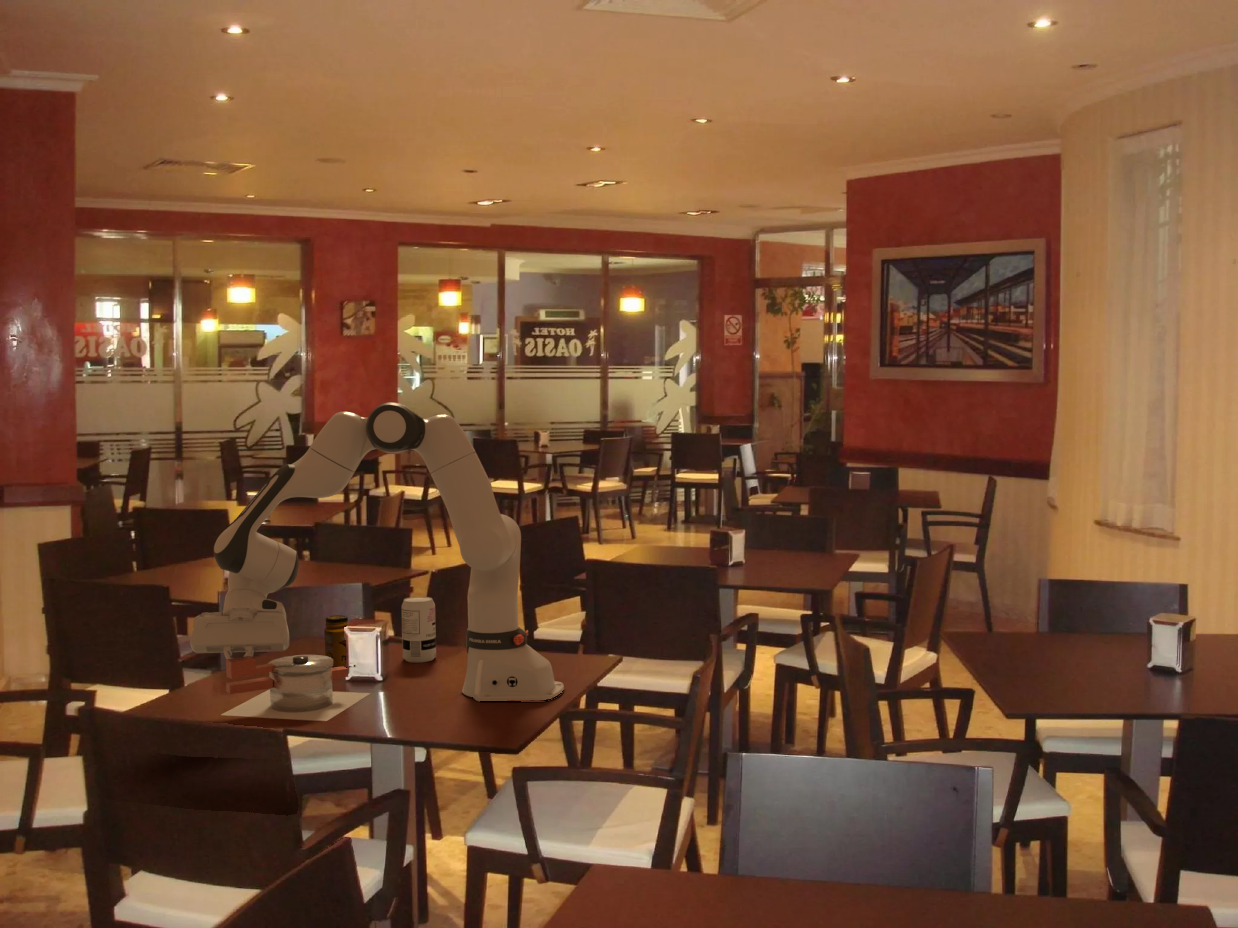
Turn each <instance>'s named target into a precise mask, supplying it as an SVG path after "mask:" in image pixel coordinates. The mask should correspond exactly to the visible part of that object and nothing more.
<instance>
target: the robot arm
mask: <svg viewBox="0 0 1238 928" xmlns="http://www.w3.org/2000/svg"><path fill="white" fill-rule="evenodd" d="M374 450H376V451H379V452H380V451H381V452H383V453H387V454H389V455H398V454H399V455H400V454H404V453H406V452H408V451H410V450H412V451H414V452H415V453H418V454H419V456H420V457H421V458H422V460H423V462H424V463H425V466H426V468H427V469H428V472H429V474H430V476H431V479H432V480H433V483H434V485H435V487H436V488H437V490H438V492H439V495H440V497H441V499H442V501H443V504H444V505H445V507H446V508H445V509H446V510H447V514H448V516H449V520H450V523H451V526H452V529H453V533H454V534H455V537H456V541H457V543H458V547H459V551H460V556H461V558H462V559H463V561H464V562H465V564H466V565H467V566H469V567H470V575H469V584H468V590H467V621H468V623H467V624H468V627H467V629H466V634H465V635H466V636H465V646H466V653H467V661H466V662H467V664H466V671H465V672H466V673H465V677H464V683H463V686H462V690H461V692H462V694H463V695H465V696H466V697H469V698H472V697H473V699H474V700H475V701H477V702H480V701H507V700H546V699H551V698H552V697H555V696H557V695H558V694H560V693H562V694H563V692H564V691H565V686H564V683H563V682H561V681H556V680H555V675H554V671H553V670H554V669H553V667H552V664H551V662H550V660H548V659H547V658H546V657H545V656H543V655H542V654H540V653H539V652H538V651H536V650H535V649H533V647H531V646H530V645H528V636H529V630H528V629H526V630H525V631H524V630H523V629H522V628H521V627H520V626H519V597H518V596H519V579H520V570H521V569H520V568H521V567H520V566H521V551H522V549H521V547H522V546H521V545H522V532H521V529H520V527H519V525H518V523H517V522H516V521H515V520H514V519H513V518H512V517H510V516H508V515H505V514H503V513H501V512H500V510H499V506H498V503H497V501H496V498H495V494H494V492H493V491H494V490H493V486H492V482H491V481H490V478H489V477H488V474H487V472H486V470H485V467H484V466H483V464H482V462H481V460H480V458H479V456H478V454H477V452H476V450H475V448H474V446H473V444H472V442H471V441H470V439H469V437H468V436H467V434H466V432H465V431H464V429H463V427H461V425H460V424H459V423H458V422H457V420H456V419H455V418H454V417H453V416H451V415H449V414H446V413H445V414H435V415H432V416H430V417H426V418H423V417H421V416H420V415H419V414H417V413H416V412H414V411H413V410H412V409H411V408H410V407H408V406H407V405H404V404H402V403H398V402H389V401H388V402H384V403H381V404H379V405H378V406H376V407H375V408H374V409H373V410H371V412H369V415H368V417H364V416H361V415H359V414H356V413H354V412H350V411H339V412H336V413H335V414H333V415H332V416H331V418H330V419H329V420H327V422H326V423H325V424H324V426H323V427H322V428H321V429H320V431H319V432H318V433H317V435H316V436H315V438H314V440H313V441H312V442H311V445H310V446H309V448H308V449H307V450H306V452H305V453H304V454H303V455H302V456H301V457H300V458H299V459H297V460H296V461H295V462H293V463H291V464H289V463H287V464H283V465H281V467H279V468H278V469H277V470H276V471H275V472H274V473H273V474H272V475H271V476H270V477H269V479H268V480H266V482H265V483H264V485H262V487H260V489H259V490H258V491H257V492H256V494H255V495H254V497H252V499H251V500H250V501H249V502H248V504H247V505H246V506H245V507H244V508H243V509H242V511H241V512H239V513H240V514H239V515H238V516H237V517H236V518H235V519H234V520H233V521H231V523H230V524H229V525H228V526H226V527H225V528H224V529H223V531H222V532H221V533H220V534H219V535H218V537H217V538H216V541H215V542H214V545H213V548H212V549H213V550H212V552H213V556H214V558H215V562H216V564H217V565H218V567H219V569H221V570H224V571H227V572H228V577H227V587H228V590H227V591H226V594H225V597H224V602H223V603H224V604H223V609H222V611H215V612H201V614H198V615H197V616H195V617H194V619H193V623H192V628H193V629H192V632H191V635H190V639H189V645H190V647H191V650H192V651H193V652H194V653H195V654H212V653H213V654H215V653H223V654H224V657H225V660H226V659H233V658H234V657H232V656H233V653H245V654H243V656H242V657H246V656H252V657H254V653H258V652H259V653H260V652H261V653H263V652H284V651H285V652H286V650H287V649H288V648H289V646H290V632H289V627H288V622H287V613H286V609H285V607H284V605H283V603H282V602H281V601H278V600H274V599H270V598H267V597H268V595H269V594H274V593H277V592H279V591H281V590H283V589H285V588H287V587H289V586H290V585H292V584H293V583H294V581H295V580H296V578H297V576H298V573H299V569H300V568H299V567H300V565H299V564H300V563H299V561H300V560H299V556H298V553H297V551H296V550H295V549H293V548H292V547H290V546H289V545H286V544H284V543H282V542H279V541H277V540H274V539H272V538H270V537H268V536H265V535H263V534H262V533H260V532H258V529H259V528H260V527H261V525H263V523H264V522H265V521H266V520H267V519H268V517H269V516H270V514H271V513H273V511H275V509H276V507H278V505H279V504H280V503H282V502H283V501H285V500H287V499H291V498H311V499H324V498H329V497H330V498H331V497H333V496H335V495H338V494H340V493H341V492H343V491H344V489H345V488H346V487H347V485H348V484H349V483H350V481H351V479H352V478H353V476H354V474H355V472H356V470H357V469H358V467H359V466H360V464H361V461H362V460H363V459H364V457H365V456H366V455H367V454H368V453H369V452H371V451H374ZM563 690H564V691H563ZM562 691H563V692H562ZM560 695H561V694H560ZM551 700H552V699H551Z"/></svg>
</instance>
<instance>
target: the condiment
mask: <svg viewBox="0 0 1238 928" xmlns="http://www.w3.org/2000/svg"><path fill="white" fill-rule="evenodd" d="M347 625H348V626H349V618H348V616H347V615H343V614H339V615H337V614H335V615H329V616H327V617H326V618H325V628H324V656H328V657H331V658H332V659H333V666H332V667H341V666H345V665H346V640H345V638H344V627H346V626H347Z"/></svg>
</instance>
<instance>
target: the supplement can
mask: <svg viewBox="0 0 1238 928" xmlns="http://www.w3.org/2000/svg"><path fill="white" fill-rule="evenodd" d="M436 627H437V626H436V604H435V602H434V600H433V598H432V597H429V596H412V597H405V598H403V602H402V604H401V636H402V637H401V639H402V640H401V643H402V647H401V648H402V659H404V660H405V661H406V662H408V663H415V664H416V663H426V662H430V661H433V660H434V658H436V657H437V635H436V634H437V633H436V632H437V631H436V630H437V629H436Z"/></svg>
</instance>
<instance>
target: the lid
mask: <svg viewBox="0 0 1238 928" xmlns="http://www.w3.org/2000/svg"><path fill="white" fill-rule="evenodd" d="M232 658H233V659H226V658H225V673H226V677H227V678H228V679H230V680H237V679H242V678H249V677H254V676H257V675H260V674H267V673H269V672H272V673H277V674H288V675H294V674H308V673H315V672H320V671H324V670H327V669H329V668H331V667H332V666H333V659H332V658H331V657H328V656H325V655H323V654H322V655H320V654H298V655H289V656H288V655H287V656H283V657H279V658H274V659H272V660H270V661H269V662H268V663H265V664H258V665H257V664H256V662H257V661H256V658H255V657H254V656H246V657H243V656H239V657H232Z"/></svg>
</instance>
